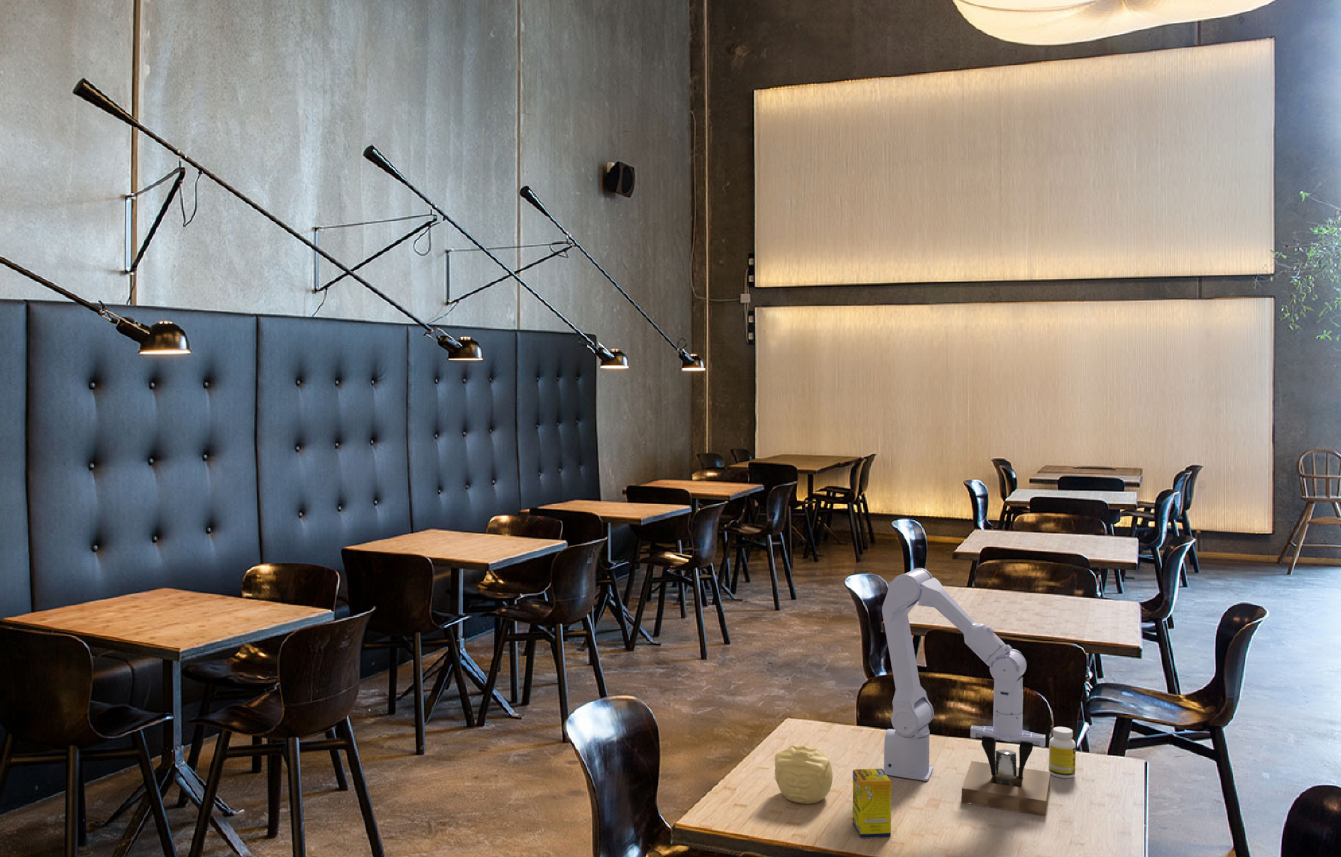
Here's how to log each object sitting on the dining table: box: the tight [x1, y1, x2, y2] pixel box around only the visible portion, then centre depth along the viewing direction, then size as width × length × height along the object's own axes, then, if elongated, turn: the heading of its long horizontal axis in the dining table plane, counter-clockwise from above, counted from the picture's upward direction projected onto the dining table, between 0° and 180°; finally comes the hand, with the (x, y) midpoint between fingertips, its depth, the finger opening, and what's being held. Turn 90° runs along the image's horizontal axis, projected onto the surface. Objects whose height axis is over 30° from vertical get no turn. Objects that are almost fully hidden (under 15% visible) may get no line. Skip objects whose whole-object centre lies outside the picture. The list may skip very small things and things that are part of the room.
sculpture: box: [774, 744, 834, 805], centre depth 208 cm, size 12×12×11 cm
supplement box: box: [852, 768, 892, 839], centre depth 192 cm, size 6×6×11 cm
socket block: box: [961, 760, 1051, 817], centre depth 210 cm, size 16×16×3 cm
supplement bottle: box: [1048, 726, 1077, 779], centre depth 220 cm, size 5×5×10 cm
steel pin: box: [995, 748, 1017, 787], centre depth 209 cm, size 4×4×8 cm
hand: (1006, 775), depth 209 cm, fingers open, 5 cm apart
